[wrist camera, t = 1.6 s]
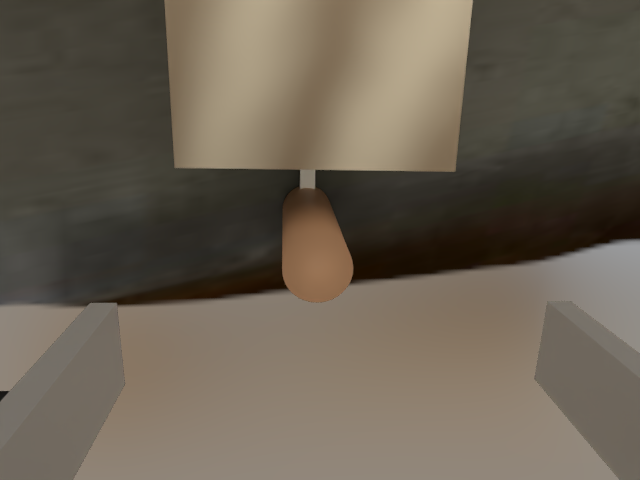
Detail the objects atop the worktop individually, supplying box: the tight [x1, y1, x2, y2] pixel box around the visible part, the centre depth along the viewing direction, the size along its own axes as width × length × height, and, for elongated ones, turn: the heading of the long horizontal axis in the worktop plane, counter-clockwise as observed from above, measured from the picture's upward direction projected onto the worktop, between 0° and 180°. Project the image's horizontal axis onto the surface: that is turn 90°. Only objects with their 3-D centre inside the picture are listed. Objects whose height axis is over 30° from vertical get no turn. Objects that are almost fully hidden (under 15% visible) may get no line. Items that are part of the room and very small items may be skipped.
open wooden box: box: [165, 0, 473, 172], centre depth 24 cm, size 12×12×10 cm
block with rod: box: [282, 170, 353, 302], centre depth 25 cm, size 6×15×11 cm, turn 179°
